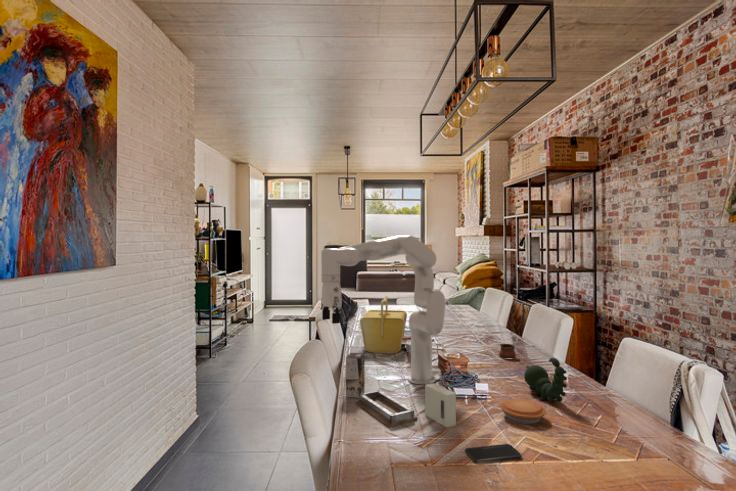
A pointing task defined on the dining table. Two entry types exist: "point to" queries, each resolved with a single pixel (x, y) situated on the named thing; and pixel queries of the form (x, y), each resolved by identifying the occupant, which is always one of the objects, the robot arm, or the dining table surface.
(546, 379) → the toy figurine
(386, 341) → the picnic basket
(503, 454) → the phone
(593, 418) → the dining table surface
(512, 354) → the ceramic pot
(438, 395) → the pale green block
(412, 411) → the grey rectangular tray
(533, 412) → the pie
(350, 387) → the coffee box
